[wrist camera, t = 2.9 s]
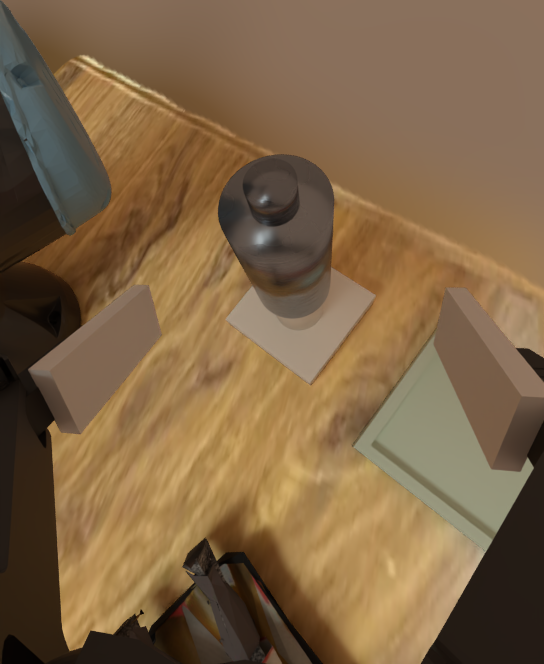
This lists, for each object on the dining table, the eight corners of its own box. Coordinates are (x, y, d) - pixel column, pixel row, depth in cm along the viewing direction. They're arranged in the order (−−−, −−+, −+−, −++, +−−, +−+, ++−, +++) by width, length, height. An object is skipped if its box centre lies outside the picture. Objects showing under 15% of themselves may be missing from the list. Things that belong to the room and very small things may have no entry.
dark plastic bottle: (242, 291, 26) (182, 199, 15) (286, 237, 27) (259, 109, 16) (300, 333, 25) (280, 264, 14) (345, 274, 25) (362, 163, 14)
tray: (351, 445, 30) (353, 447, 28) (441, 321, 31) (447, 316, 30) (503, 565, 26) (515, 574, 25) (597, 418, 28) (613, 418, 26)
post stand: (230, 324, 34) (203, 298, 27) (290, 249, 35) (281, 203, 28) (310, 385, 32) (306, 375, 24) (373, 302, 33) (387, 267, 25)
